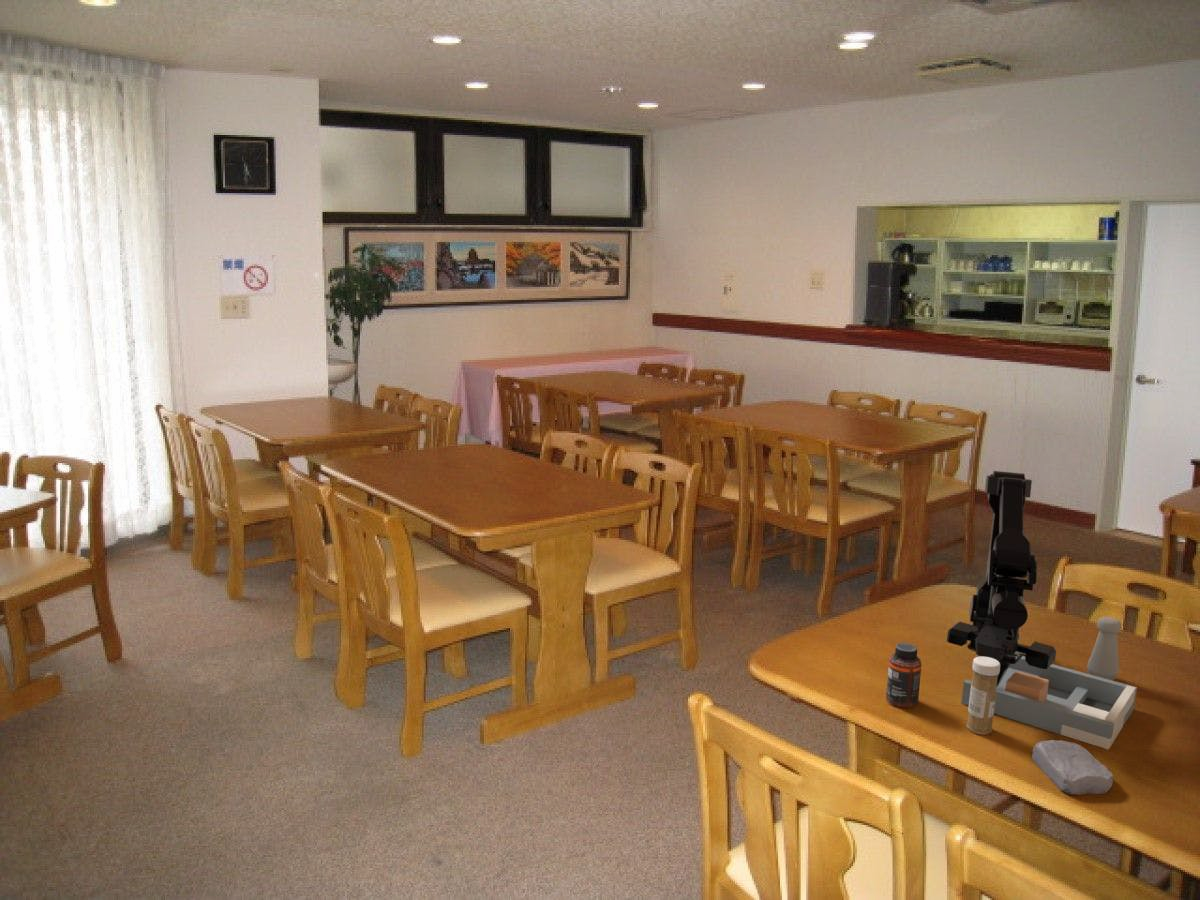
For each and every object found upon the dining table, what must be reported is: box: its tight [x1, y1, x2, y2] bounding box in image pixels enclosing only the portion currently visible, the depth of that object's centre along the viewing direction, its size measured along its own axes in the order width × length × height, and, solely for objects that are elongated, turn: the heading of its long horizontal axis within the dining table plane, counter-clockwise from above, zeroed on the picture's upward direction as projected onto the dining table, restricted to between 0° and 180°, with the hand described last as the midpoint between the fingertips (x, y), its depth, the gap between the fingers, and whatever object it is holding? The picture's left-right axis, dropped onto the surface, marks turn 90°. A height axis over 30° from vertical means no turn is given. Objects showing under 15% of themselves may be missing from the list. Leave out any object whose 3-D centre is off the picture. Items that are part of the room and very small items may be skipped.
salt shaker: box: [1086, 616, 1122, 681], centre depth 205 cm, size 6×6×13 cm
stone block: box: [1031, 739, 1114, 796], centre depth 169 cm, size 12×5×10 cm
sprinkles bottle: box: [965, 656, 1000, 735], centre depth 183 cm, size 5×5×14 cm
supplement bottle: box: [885, 642, 922, 709], centre depth 193 cm, size 6×6×11 cm
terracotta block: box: [1005, 671, 1049, 702], centre depth 191 cm, size 6×6×4 cm
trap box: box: [960, 656, 1138, 750], centre depth 193 cm, size 26×20×5 cm
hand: (995, 686), depth 195 cm, fingers closed
